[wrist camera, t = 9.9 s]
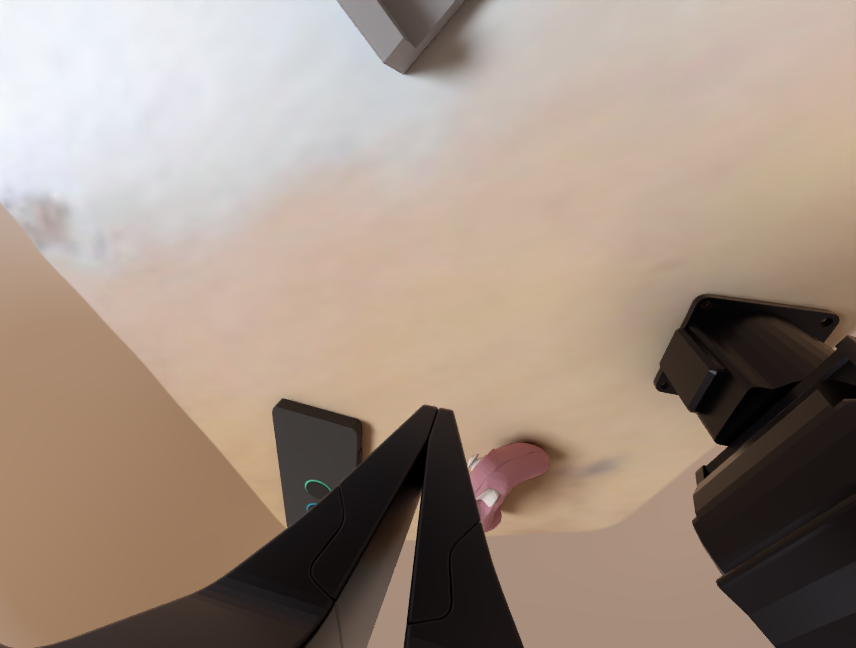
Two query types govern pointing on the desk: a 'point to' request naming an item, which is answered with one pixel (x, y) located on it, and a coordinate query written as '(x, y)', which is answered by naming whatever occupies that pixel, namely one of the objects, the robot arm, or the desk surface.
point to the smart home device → (313, 453)
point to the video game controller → (503, 476)
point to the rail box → (399, 26)
